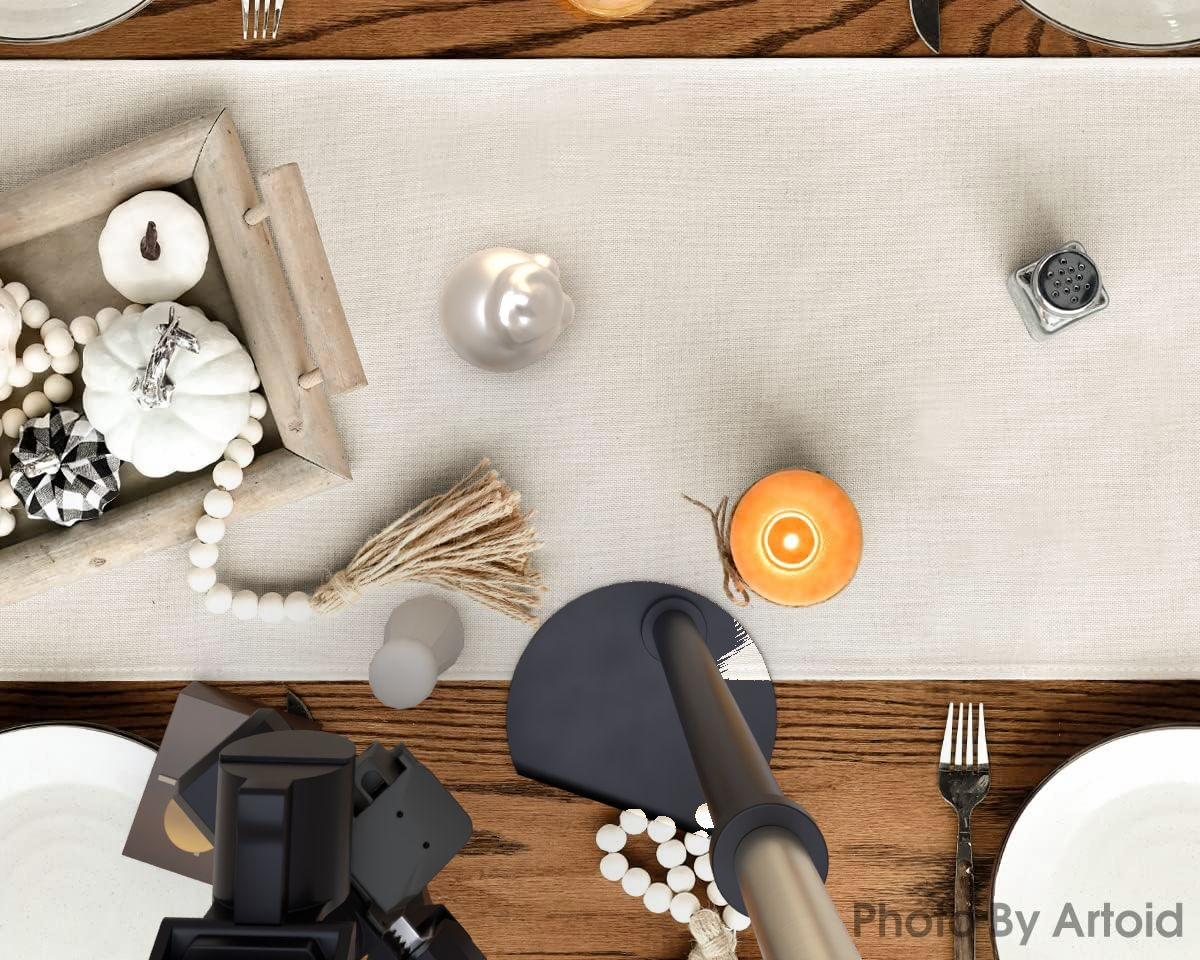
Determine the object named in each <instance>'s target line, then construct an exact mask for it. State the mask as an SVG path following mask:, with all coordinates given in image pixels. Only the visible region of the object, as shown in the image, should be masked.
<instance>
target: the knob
mask: <svg viewBox="0 0 1200 960" xmlns="http://www.w3.org/2000/svg"><path fill="white" fill-rule="evenodd" d="M164 826H165V830H166V833H167V835H168V837H169V838H170V840H171V841H172V842H173V843H174V844H175V845H176V846H177V847H179V848H180V849H182V850H185V851H188V852H193V853H200V852H205V851H208V850H211V849H213V848H214V847H213V846H212V845H211V843H210V842H209V841H208V840H207V839H206V838H205V836H204V835H203V834H202V833H201V832H200V831H199V829H198V828H197V827H196V826H195V825H194V823H193V822H192V821H191V820H190V819H189V818H188V816H187V815H186V814H185V813H184V812H183V811H182V809H181V808H180V807H179V806H178V805H177V803H176V802H175V801H174V800H173V798H172V799H171V800H170V802H169V803H168V805H167V807H166V810H165V815H164Z"/></svg>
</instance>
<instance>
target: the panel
mask: <svg viewBox="0 0 1200 960" xmlns="http://www.w3.org/2000/svg"><path fill="white" fill-rule="evenodd" d="M259 708H267V709H275V710H276V711H277V713H278V714H279V715H280V716H281V717H282V718H283V720H284V721H285V722H286V723H287V724H289V725H290V726H292V727H293V729H294V730H312V731H322V730H323V727H324V724H323V723H321V722H318V721H316V720H313V719H309V718H307V717H304V716H301V715H298V714H295V713H292V712H289V711H286V710H283V709H280V708H277V707H274V706H271V705H268V704H266V703H262V702H260V701H256V700H254V699H251V698H247V697H244V696H241V695H239V694H235V693H233V692H230V691H227V690H225V689H221V688H218V687H215V686H212V685H211V684H210V685H209V684H208V683H207V684H206V683H203V682H200V681H198V680H193V681H192V682H190V683H189V684H188V685H187V686H185V687H184V688H182V689H181V690H180V691H179V692H178V694H177V697H176V701H175V703H174V706H173V709H172V712H171V714H170V717H169V720H168V722H167V725H166V728H165V731H164V734H163V737H162V740H161V742H160V745H159V748H158V750H157V754H156V756H155V758H154V762H153V764H152V768H151V770H150V773H149V776H148V779H147V782H146V784H145V787H144V790H143V793H142V796H141V798H140V801H139V804H138V807H137V810H136V812H135V815H134V819H133V821H132V823H131V826H130V829H129V832H128V835H127V838H126V840H125V844H124V846H123V848H122V852H121V855H122V856H124V857H126V858H130V859H132V860H136V861H139V862H141V863H144V864H146V865H147V864H148V865H151V866H153V867H156V868H159V869H161V870H165V871H168V872H171V873H174V874H176V875H181V876H184V877H186V878H189V879H191V880H195V881H198V882H201V883H203V884H207V885H211V886H213V866H214V848H213V849H211V850H208V851H205V852H200V853H193V852H188V851H185V850H182V849H180V848H179V847H177V846H176V845H175V844H174V843H173V842H172V841H171V840H170V838H169V837H168V835H167V833H166V830H165V826H164V815H165V810H166V807H167V805H168V803H169V802H170V800H171V799H172V798H173V793H174V788H175V782H176V781H177V780H178V779H179V778H180V777H181V776H182V775H183V774H184V773H185V772H186V771H187V770H188V769H190V768H191V767H192V766H193V765H194V764H195V763H196V762H198V761H199V760H200V759H201V758H202V757H203V756H205V755H206V754H207V753H208V752H209V751H210V750H212V749H213V748H214V747H215V746H216V745H217V744H219V743H220V742H221V741H222V740H223V739H224V738H225V737H227V736H228V735H229V734H230V733H231V732H232V731H234V730H235V729H236V728H237V727H238V726H239V725H241V724H242V723H243V722H244V721H245V720H246V719H248V718H249V717H250V716H251V715H252V714H253V713H254V712H256V711H257V710H258V709H259Z"/></svg>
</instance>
